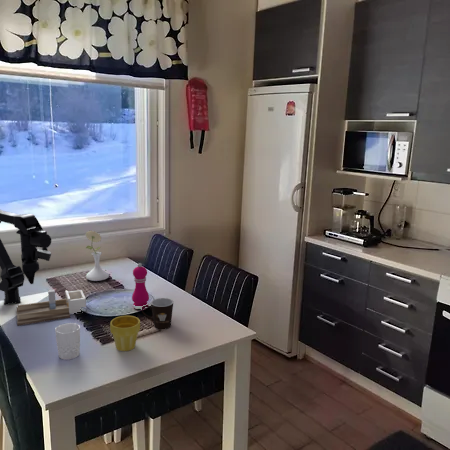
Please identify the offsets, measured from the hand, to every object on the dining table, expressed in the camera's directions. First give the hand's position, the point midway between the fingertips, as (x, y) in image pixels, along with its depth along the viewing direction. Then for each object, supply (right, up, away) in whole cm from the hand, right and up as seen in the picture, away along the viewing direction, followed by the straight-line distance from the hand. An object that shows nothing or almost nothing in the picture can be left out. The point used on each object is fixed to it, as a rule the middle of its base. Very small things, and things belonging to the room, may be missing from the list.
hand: (31, 280), depth 187 cm
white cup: (+29, -21, -36) cm, 50 cm away
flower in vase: (+16, -4, +39) cm, 42 cm away
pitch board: (+6, -13, -3) cm, 15 cm away
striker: (+10, -12, -2) cm, 15 cm away
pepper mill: (+45, -12, +5) cm, 47 cm away
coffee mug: (+56, -16, -12) cm, 59 cm away
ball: (+17, -10, +1) cm, 20 cm away
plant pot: (+47, -20, -29) cm, 59 cm away
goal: (+18, -12, +2) cm, 22 cm away
